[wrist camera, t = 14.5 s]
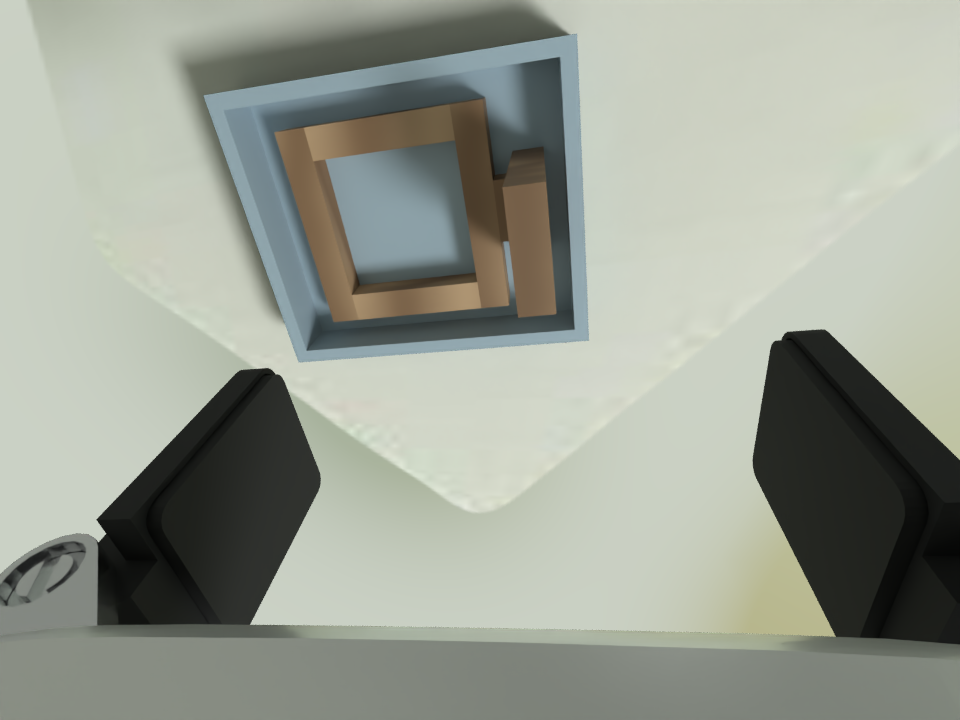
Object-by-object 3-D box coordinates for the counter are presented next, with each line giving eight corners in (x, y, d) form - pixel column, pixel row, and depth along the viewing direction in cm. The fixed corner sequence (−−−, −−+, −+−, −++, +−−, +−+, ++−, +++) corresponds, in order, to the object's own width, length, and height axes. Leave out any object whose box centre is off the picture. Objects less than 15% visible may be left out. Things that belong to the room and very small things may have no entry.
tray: (237, 91, 25) (203, 95, 23) (572, 37, 23) (577, 33, 20) (317, 338, 32) (298, 362, 30) (584, 316, 30) (588, 340, 27)
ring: (538, 88, 24) (539, 100, 16) (554, 290, 29) (560, 369, 21) (287, 128, 26) (187, 155, 18) (342, 311, 30) (280, 389, 23)
